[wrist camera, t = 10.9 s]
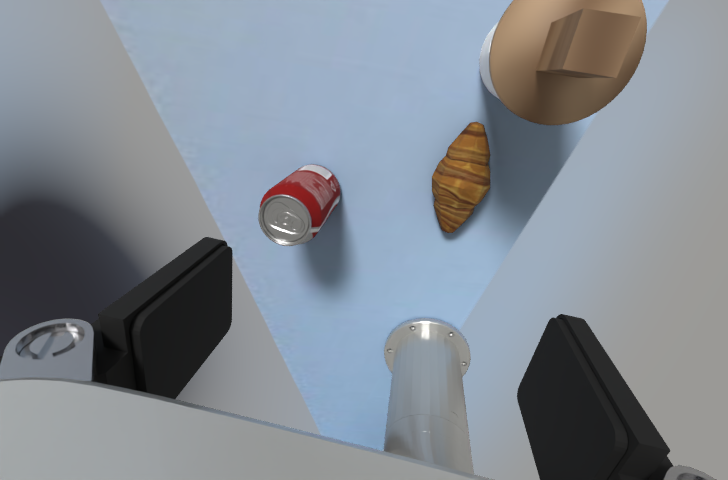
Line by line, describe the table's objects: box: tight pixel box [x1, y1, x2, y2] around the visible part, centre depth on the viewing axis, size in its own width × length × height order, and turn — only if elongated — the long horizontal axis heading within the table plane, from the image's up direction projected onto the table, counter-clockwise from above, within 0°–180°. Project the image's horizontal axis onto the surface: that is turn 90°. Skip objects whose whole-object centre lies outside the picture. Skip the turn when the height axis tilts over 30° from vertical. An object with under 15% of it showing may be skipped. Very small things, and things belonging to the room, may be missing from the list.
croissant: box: [432, 122, 490, 233], centre depth 43 cm, size 14×7×5 cm, turn 171°
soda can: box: [259, 164, 341, 246], centre depth 43 cm, size 7×7×12 cm
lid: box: [489, 0, 647, 125], centre depth 25 cm, size 10×10×7 cm
